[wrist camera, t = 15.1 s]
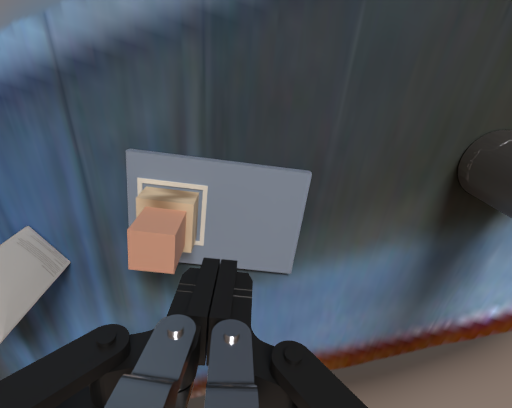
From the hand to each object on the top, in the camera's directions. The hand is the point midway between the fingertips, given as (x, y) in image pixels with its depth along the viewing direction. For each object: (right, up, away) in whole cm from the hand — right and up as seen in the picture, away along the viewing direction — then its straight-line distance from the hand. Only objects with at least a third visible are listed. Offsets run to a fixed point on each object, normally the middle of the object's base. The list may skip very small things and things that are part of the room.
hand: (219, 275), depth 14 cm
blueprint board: (-4, +2, +30) cm, 31 cm away
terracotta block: (-10, 0, +25) cm, 27 cm away
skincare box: (-31, -4, +33) cm, 46 cm away
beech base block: (-10, +2, +29) cm, 31 cm away
